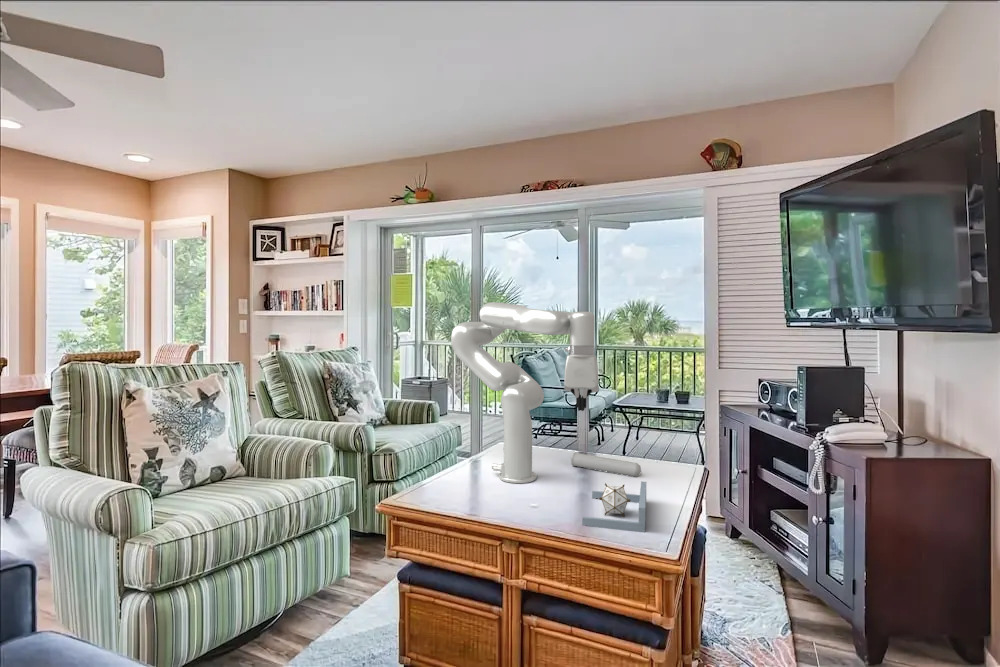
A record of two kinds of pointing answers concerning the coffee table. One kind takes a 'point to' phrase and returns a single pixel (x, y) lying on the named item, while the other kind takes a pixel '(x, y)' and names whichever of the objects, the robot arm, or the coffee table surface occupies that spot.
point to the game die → (614, 499)
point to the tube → (606, 464)
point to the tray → (620, 523)
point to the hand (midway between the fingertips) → (581, 410)
